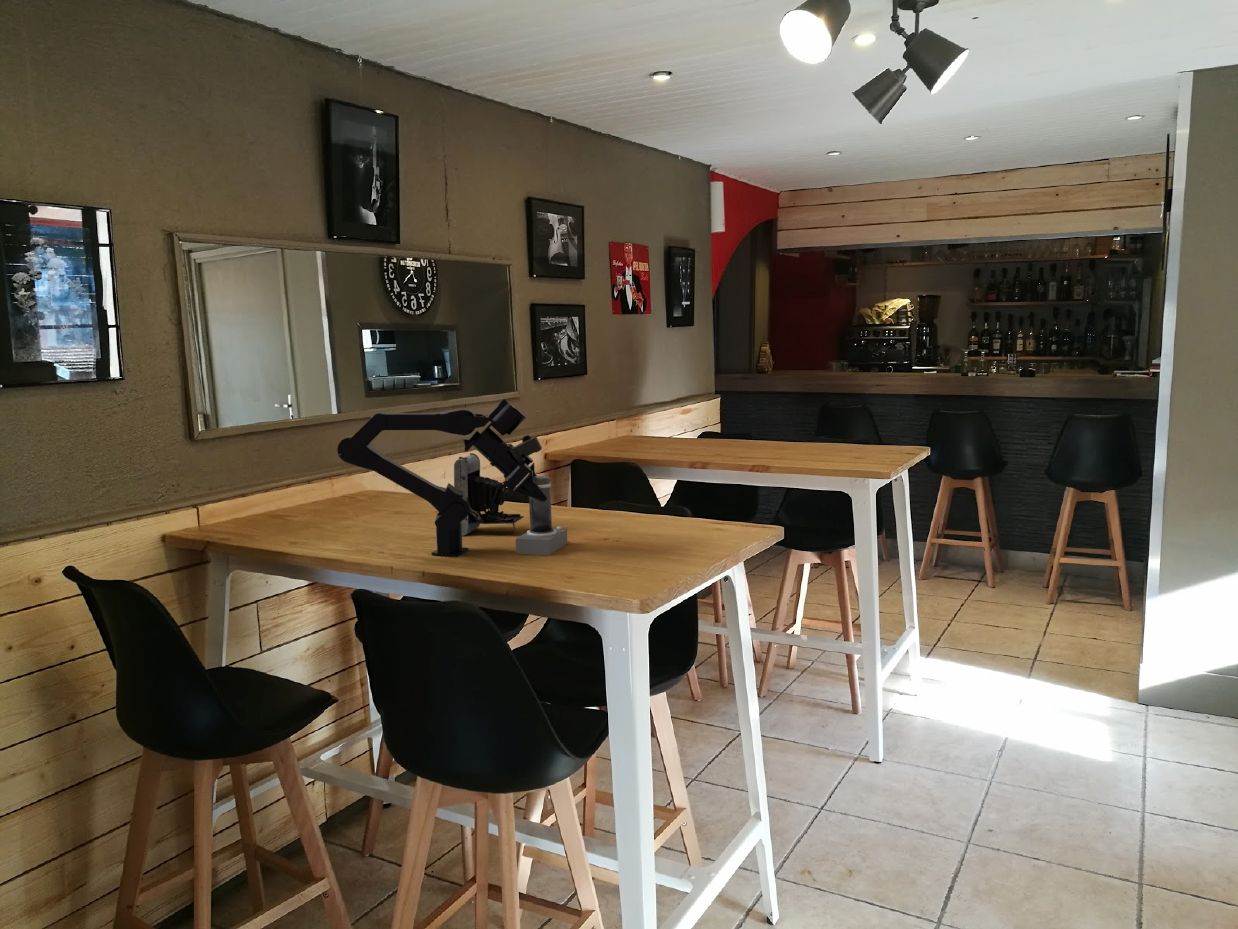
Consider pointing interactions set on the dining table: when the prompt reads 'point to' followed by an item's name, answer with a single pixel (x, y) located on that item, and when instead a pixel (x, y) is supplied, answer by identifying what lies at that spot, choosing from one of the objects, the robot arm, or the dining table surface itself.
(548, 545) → the grey rectangular block
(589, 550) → the dining table surface
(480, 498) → the vintage camera
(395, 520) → the dining table surface
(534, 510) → the dark grey cylinder
